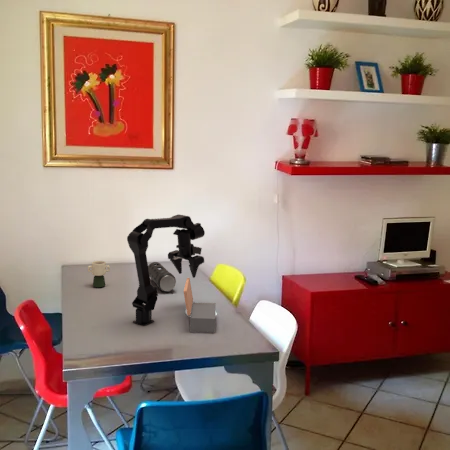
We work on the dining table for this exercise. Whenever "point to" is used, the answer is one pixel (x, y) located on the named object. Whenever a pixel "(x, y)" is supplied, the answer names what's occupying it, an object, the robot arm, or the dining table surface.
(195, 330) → the cable box
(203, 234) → the robot arm
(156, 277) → the muzzle brake
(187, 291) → the lid
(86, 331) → the dining table surface
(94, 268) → the trophy cup
